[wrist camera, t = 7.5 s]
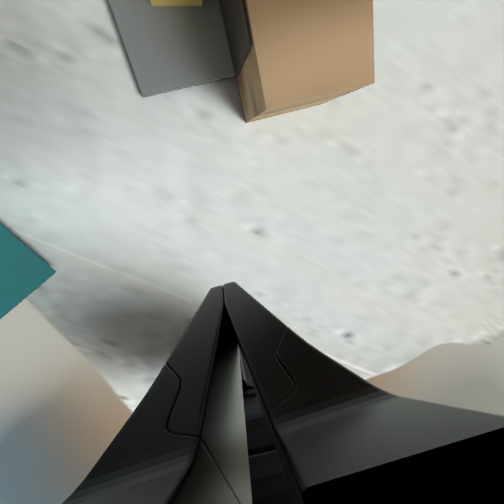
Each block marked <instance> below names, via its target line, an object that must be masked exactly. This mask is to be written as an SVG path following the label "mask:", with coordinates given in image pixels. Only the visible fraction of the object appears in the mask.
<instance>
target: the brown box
mask: <svg viewBox="0 0 504 504" xmlns="http://www.w3.org/2000/svg"><path fill="white" fill-rule="evenodd" d="M219 3H220V8H221V13H222V17H223V22H224V26H225V31H226V36H227V40H228V45H229V49H230V54H231V59H232V63H233V68H234V73H235V77H236V79H237V84H238V88H239V93H240V97H241V102H242V107H243V111H244V116H245V121H246V123H248V122H252V121H256V120H260V119H264V118H268V117H272V116H276V115H280V114H284V113H288V112H292V111H296V110H299V109H303V108H307V107H311V106H315V105H319V104H322V103H325V102H328V101H330V100H333V99H335V98H338V97H340V96H343V95H345V94H348V93H350V92H353V91H355V90H358V89H360V88H363V87H365V86H368V85H370V84H373V83H374V38H373V0H219Z"/></svg>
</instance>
